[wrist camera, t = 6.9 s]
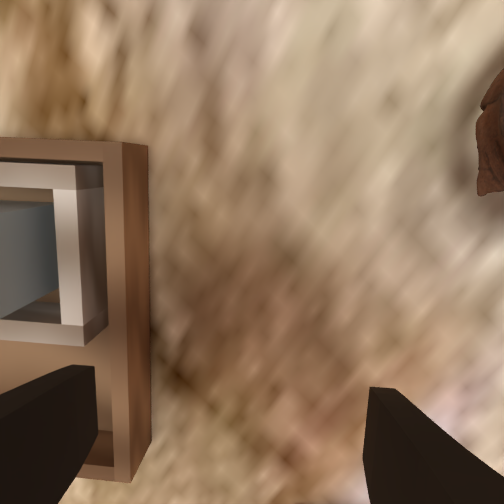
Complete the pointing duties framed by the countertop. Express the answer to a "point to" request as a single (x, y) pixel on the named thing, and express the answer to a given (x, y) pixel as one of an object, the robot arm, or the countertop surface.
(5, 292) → the block
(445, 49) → the countertop surface
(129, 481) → the box
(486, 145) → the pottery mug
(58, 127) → the countertop surface
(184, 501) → the countertop surface
